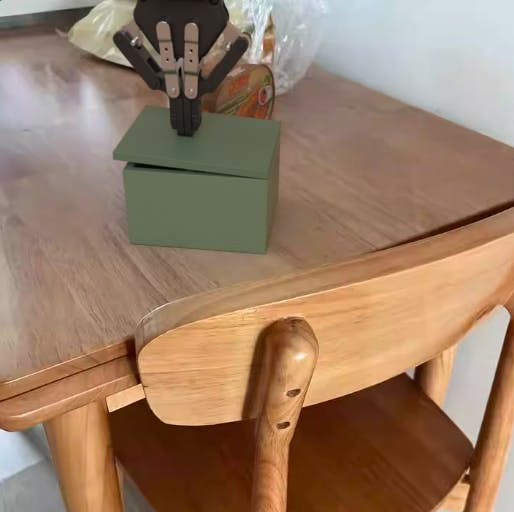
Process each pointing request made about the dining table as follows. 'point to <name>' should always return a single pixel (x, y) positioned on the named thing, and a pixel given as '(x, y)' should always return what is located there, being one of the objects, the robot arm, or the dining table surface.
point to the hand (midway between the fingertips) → (186, 132)
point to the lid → (202, 143)
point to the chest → (200, 207)
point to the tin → (243, 93)
